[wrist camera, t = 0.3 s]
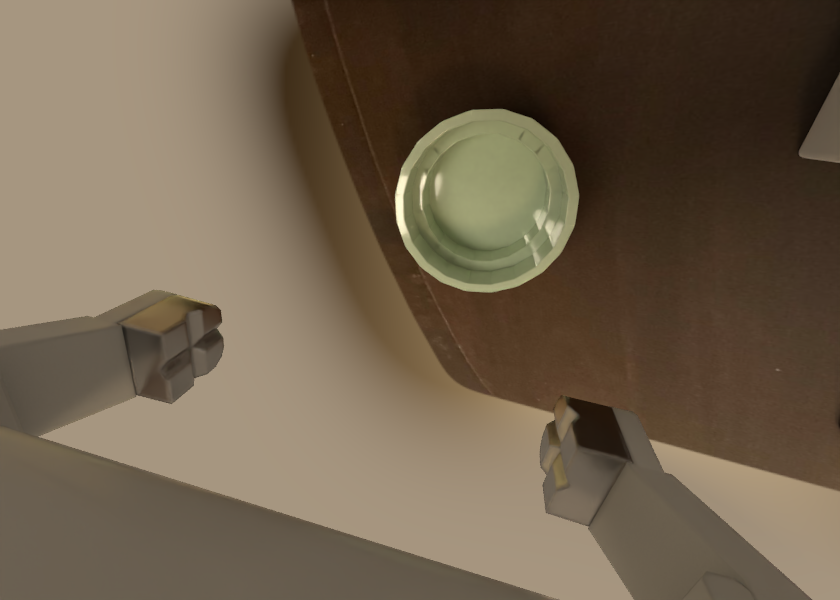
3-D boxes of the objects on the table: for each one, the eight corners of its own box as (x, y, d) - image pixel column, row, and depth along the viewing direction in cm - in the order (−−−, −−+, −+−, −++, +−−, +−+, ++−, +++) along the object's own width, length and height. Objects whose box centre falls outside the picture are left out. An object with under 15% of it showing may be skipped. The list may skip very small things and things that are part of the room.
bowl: (394, 144, 29) (369, 148, 24) (545, 86, 26) (557, 76, 20) (439, 277, 33) (427, 307, 27) (576, 242, 29) (593, 269, 24)
